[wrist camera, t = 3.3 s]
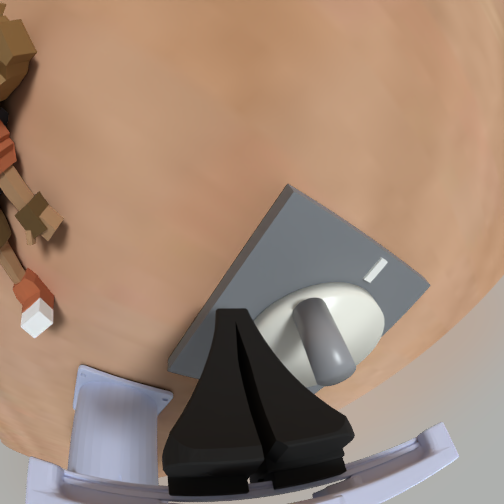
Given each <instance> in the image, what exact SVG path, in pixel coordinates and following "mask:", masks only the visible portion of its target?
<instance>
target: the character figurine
mask: <svg viewBox="0 0 504 504" xmlns="http://www.w3.org/2000/svg"><path fill="white" fill-rule="evenodd" d="M5 7H6V4H4V3H0V101H2V100H5V99H6V98H7V97H8V96H9V95H10V94H11V93H12V92H13V91H14V89H15V88H16V87H17V86H18V85H19V84H20V82H21V81H22V80H23V78H24V77H25V75H26V74H27V71H28V66H29V61H30V60H31V59H32V57H33V56H34V55H35V54H36V53H37V51H36V49H35V47H34V45H33V43H32V41H31V39H30V37H29V35H28V33H27V31H26V29H25V27H24V25H23V22H22V20H21V19H19V20H13V21H9V19H8V18H7V17H6V16H3V13H4V10H5ZM8 114H9V113H8V112H7V111H5V110H4V109H3V108H1V107H0V195H1V193H2V192H4V194H5V195H6V196H7V198H8V199H9V200H10V201H11V202H12V204H13V205H14V206H15V207H16V208H17V209H18V213H17V214H16V215H15V217H16V218H17V219H18V221H19V222H20V223H21V225H22V226H23V227H24V229H25V232H26V239H27V245H33V244H35V243H36V239H35V238H36V237H37V236H39V235H41V236H42V237H44V238H45V239H46V240H47V241H49V239H50V238H51V236H52V235H53V234H54V232H55V231H56V229H57V228H58V226H59V225H60V223H61V222H62V220H63V219H64V218H63V217H62V216H61V215H59V214H58V213H57V212H56V211H55V210H54V209H53V208H52V207H51V206H49V204H48V203H47V202H46V200H45V199H44V197H43V196H42V194H41V193H40V191H39V192H38V193H37V194H36V195H35V196H34V195H33V193H32V192H31V191H30V189H29V188H28V187H27V185H26V184H25V182H24V181H23V179H22V178H21V176H20V175H19V173H18V172H17V170H16V169H15V167H14V166H13V163H14V162H16V161H17V159H16V153H15V146H14V142H13V141H12V140H11V139H10V138H9V136H10V132H9V131H8V129H7V128H6V126H7V122H8ZM10 236H11V230H10V228H9V225H8V223H7V220H6V217H5V216H4V214H3V212H2V210H1V208H0V263H1V265H2V267H3V268H4V270H5V271H6V273H7V274H8V276H9V277H10V279H11V280H12V281H13V283H14V286H13V291H14V293H15V296H16V298H17V299H18V300H19V302H20V303H21V304H22V305H23V307H22V319H21V328H23V329H24V330H25V331H26V332H27V333H29V334H30V335H31V336H32V337H33V338H36V337H37V336H38V335H39V334H41V333H42V332H43V331H44V330H46V329H47V328H48V327H49V326H50V325H52V324H53V305H54V295H53V294H52V293H51V292H50V291H49V289H48V288H47V287H46V286H45V284H44V283H43V282H42V281H41V279H40V278H39V277H38V276H37V274H35V273H34V272H33V271H32V270H30V269H29V268H27V269H26V270H25V271H24V269H23V268H22V266H21V264H20V262H19V260H18V259H17V257H16V255H15V253H14V252H13V250H12V248H11V247H10V245H9V243H8V239H9V237H10Z"/></svg>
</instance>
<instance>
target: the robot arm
mask: <svg viewBox="0 0 504 504" xmlns="http://www.w3.org/2000/svg"><path fill="white" fill-rule="evenodd" d="M172 398H173V393H172V392H170V391H166V390H162V389H158V388H155V387H151V386H147V385H143V384H140V383H136V382H133V381H130V380H126V379H123V378H120V377H117V376H114V375H111V374H108V373H105V372H102V371H99V370H96V369H94V368H91V367H88V366H85V365H80V366H79V368H78V373H77V380H76V386H75V393H74V401H73V409H75V416H74V422H73V428H72V435H71V442H70V451H69V460H68V471H67V470H63V468H61V467H60V466H58V465H56V464H53V463H51V462H48V461H44V460H41V459H38V458H35V457H32V456H31V457H30V458H29V466H28V476H27V486H26V487H27V488H26V504H176V503H168V501H174V502H215V501H232V500H242V499H252V498H260V497H267V496H274V495H280V494H285V493H290V492H295V491H300V490H304V489H309V488H313V487H317V486H321V485H325V484H329V483H332V482H335V481H339V480H342V479H345V478H346V479H345V480H344V481H341V482H339V483H336V484H333V485H330V486H327V487H326V488H325V489H323V490H321V491H318V492H316V493H313V498H312V499H308V500H304V501H300V502H294V503H290V504H380V503H382V502H384V501H386V500H388V499H390V498H392V497H394V496H396V495H398V494H400V493H402V492H404V491H406V490H408V489H409V488H411V487H413V486H415V485H416V484H418V483H420V482H421V481H423V480H425V479H426V478H428V477H430V476H431V475H433V474H434V473H436V472H438V471H439V470H441V469H442V468H444V467H445V466H447V465H448V464H450V463H451V462H453V461H454V460H456V459H457V458H458V457H459V455H458V453H457V451H456V448H455V446H454V444H453V442H452V440H451V438H450V436H449V434H448V431H447V429H446V427H445V426H444V423H443V422H440V423H438V424H436V425H434V426H432V427H430V428H428V429H426V430H425V431H423V432H422V433H420V434H419V435H418V436H417V437H416V438H413V439H411V440H409V441H407V442H404V443H402V444H400V445H397V446H395V447H392V448H390V449H387V450H385V451H382V452H380V453H377V454H375V455H372V456H369V457H366V458H363V459H360V460H357V461H354V462H351V463H348V464H344V461H343V458H342V457H343V456H344V451H343V447H345V446H346V445H347V444H348V443H349V442H350V441H352V440H353V438H354V432H353V429H352V427H351V425H350V423H349V421H348V419H347V417H346V416H345V415H343V414H341V413H340V412H338V411H337V410H335V409H333V408H332V407H331V406H329V405H328V404H326V403H325V402H324V401H322V400H321V399H319V398H318V397H317V396H316V395H314V394H313V393H312V392H311V391H310V390H309V389H307V388H306V387H305V386H304V385H303V384H302V383H301V382H300V381H299V380H298V379H297V378H296V377H295V376H294V375H293V374H292V373H291V372H290V371H289V370H288V369H287V368H286V367H285V366H284V365H283V363H282V362H281V361H280V360H279V358H278V357H277V356H276V355H275V353H274V352H273V351H272V349H271V348H270V347H269V345H268V344H267V342H266V341H265V339H264V338H263V336H262V335H261V333H260V332H259V330H258V328H257V327H256V325H255V323H254V321H253V319H252V318H251V316H250V314H249V312H248V310H247V309H246V308H218V309H217V310H216V313H215V331H214V336H213V340H212V344H211V348H210V351H209V354H208V357H207V361H206V364H205V366H204V369H203V372H202V374H201V377H200V379H199V381H198V383H197V386H196V388H195V390H194V392H193V394H192V396H191V398H190V400H189V402H188V404H187V405H186V407H185V409H184V411H183V413H182V414H181V416H180V418H179V419H178V421H177V422H176V424H175V425H174V427H173V428H172V430H171V431H170V434H169V437H168V439H167V442H166V444H165V447H164V450H163V455H162V463H163V471H164V472H165V473H166V475H167V476H168V486H159V485H158V459H157V416H158V415H159V413H160V412H161V411H162V410H163V409H164V408H165V407H166V405H167V404H168V403H169V402H170V401H171V400H172ZM249 477H250V484H248V482H247V480H248V478H249Z"/></svg>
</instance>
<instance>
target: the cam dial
mask: <svg viewBox="0 0 504 504" xmlns="http://www.w3.org/2000/svg"><path fill="white" fill-rule="evenodd" d="M254 323H255V325H256V327H257V328H258V330H259V332H260V333H261V335H262V336H263V338H264V339H265V341H266V342H267V344H268V345H269V347H270V348H271V349H272V351H273V352H274V353H275V355H276V356H277V357H278V358H279V360H280V361H281V362H282V363H283V365H284V366H285V367H286V368H287V369H288V370H289V371H290V372H291V373H292V374H293V375H294V376H295V377H296V378H297V379H298V380H299V381H300V382H301V383H302V384H303V385H304V386H305V387H311V386H315V385H320V386H331V385H335V384H338V383H340V382H342V381H344V380H346V379H347V378H349V377H350V376H351V375H352V374H353V373H354V372H355V370H356V365H358V364H359V363H360V362H361V361H362V360H364V359H365V358H366V357H367V356H368V355H369V354H370V353H371V351H372V350H373V349H374V348H375V346H376V345H377V343H378V342H379V340H380V338H381V336H382V333H383V330H384V315H383V313H382V311H381V309H380V307H379V306H378V304H377V303H376V301H375V300H374V298H373V297H372V296H371V294H370V293H369V292H368V291H366V290H365V289H364V288H362V287H360V286H358V285H354V284H351V283H344V282H330V283H322V284H317V285H312V286H309V287H306V288H303V289H300V290H297V291H295V292H293V293H290V294H288V295H286V296H285V297H283V298H281V299H279V300H278V301H276V302H275V303H273V304H271V305H270V306H269V307H268V308H266V309H265V310H264V311H263V312H262V313H261V314H260V315H259V316H258V317H257V318H256V319H255V320H254Z"/></svg>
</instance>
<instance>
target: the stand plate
mask: <svg viewBox="0 0 504 504" xmlns="http://www.w3.org/2000/svg"><path fill="white" fill-rule="evenodd" d="M330 282H344V283H351V284H354V285H358V286H360V287H362V288H364V289H365V290H366V291H368V292H369V293H370V294H371V296H372V297H373V298H374V300H375V301H376V303H377V304H378V306H379V307H380V309H381V311H382V313H383V315H384V330H383V333H382V336H383V335H384V334H385V333H386V332H387V331H388V330H389V329H390V328H391V327H392V326H393V325H394V324H395V323H396V322H397V321H398V320H399V319H400V318H401V317H402V316H403V315H404V314H405V313H406V312H407V311H408V310H409V309H410V308H411V307H412V305H413V304H414V303H415V302H416V301H417V300H418V299H419V298H420V297H421V296H422V294H423V293H424V292H425V291H426V290H427V289H428V288H429V287H430V284H429V283H428V282H427V281H426V279H425V278H424V277H423V276H422V275H420V274H419V273H418V272H416V271H415V270H414V269H412V268H411V267H410V266H409V265H407V264H406V263H405V262H403V261H402V260H401V259H399V258H398V257H397V256H395V255H394V254H393V253H391V252H390V251H388V250H387V249H386V248H384V247H383V246H382V245H380V244H379V243H377V242H376V241H375V240H373V239H372V238H370V237H369V236H367V235H366V234H365V233H363V232H362V231H360V230H359V229H357V228H356V227H354V226H353V225H351V224H350V223H349V222H347V221H346V220H344V219H343V218H341V217H340V216H338V215H337V214H335V213H334V212H332V211H330V210H329V209H327V208H326V207H324V206H323V205H321V204H320V203H318V202H317V201H315V200H313V199H312V198H310V197H309V196H307V195H305V194H304V193H302V192H301V191H299V190H297V189H296V188H294V187H292V186H291V185H289V184H287V185H286V187H285V188H284V190H283V191H282V193H281V194H280V195H279V197H278V198H277V200H276V201H275V203H274V204H273V206H272V207H271V208H270V210H269V211H268V213H267V214H266V216H265V217H264V219H263V220H262V222H261V223H260V224H259V226H258V227H257V229H256V230H255V232H254V233H253V235H252V236H251V238H250V239H249V240H248V242H247V243H246V245H245V246H244V248H243V249H242V251H241V252H240V254H239V255H238V257H237V258H236V260H235V261H234V262H233V264H232V265H231V267H230V268H229V270H228V271H227V273H226V274H225V276H224V277H223V279H222V280H221V282H220V283H219V285H218V286H217V287H216V289H215V290H214V292H213V293H212V295H211V296H210V298H209V299H208V301H207V302H206V304H205V305H204V307H203V308H202V310H201V311H200V313H199V314H198V316H197V317H196V319H195V320H194V322H193V323H192V325H191V326H190V327H189V329H188V330H187V332H186V333H185V335H184V336H183V338H182V339H181V341H180V342H179V344H178V345H177V347H176V348H175V350H174V351H173V353H172V354H171V356H170V357H169V359H168V371H169V372H172V373H176V374H180V375H184V376H188V377H192V378H197V379H200V377H201V374H202V372H203V369H204V366H205V364H206V361H207V357H208V354H209V351H210V348H211V344H212V340H213V336H214V331H215V313H216V310H217V309H218V308H246V309H247V310H248V312H249V314H250V316H251V318H252V319H253V321H254V320H255V319H256V318H257V317H258V316H259V315H260V314H261V313H262V312H263V311H264V310H265V309H266V308H268V307H269V306H270V305H271V304H273V303H275V302H276V301H278V300H279V299H281V298H283V297H285V296H286V295H288V294H290V293H293V292H295V291H297V290H300V289H303V288H306V287H309V286H312V285H317V284H322V283H330ZM382 336H381V337H382ZM323 387H324V386H320V385H315V386H311V387H306V388H307V389H309V390H310V391H311V392H312V393H313V394H315V393H316V392H317V391H319V390H320V389H321V388H323Z"/></svg>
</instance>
